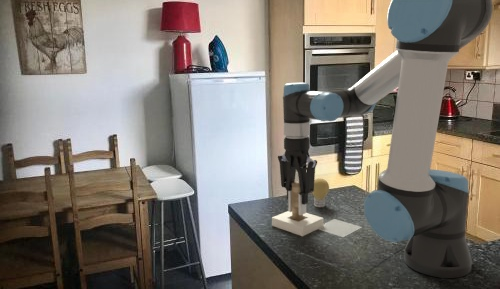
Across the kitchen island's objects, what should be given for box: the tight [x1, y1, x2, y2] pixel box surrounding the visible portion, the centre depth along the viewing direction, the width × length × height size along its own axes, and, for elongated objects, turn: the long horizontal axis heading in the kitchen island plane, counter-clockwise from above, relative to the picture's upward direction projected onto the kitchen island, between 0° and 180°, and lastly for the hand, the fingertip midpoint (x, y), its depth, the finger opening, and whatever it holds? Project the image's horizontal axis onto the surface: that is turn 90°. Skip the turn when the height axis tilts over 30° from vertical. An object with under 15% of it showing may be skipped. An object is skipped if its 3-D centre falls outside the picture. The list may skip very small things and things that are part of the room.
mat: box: [318, 218, 363, 238], centre depth 126 cm, size 10×10×1 cm
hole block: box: [271, 210, 325, 237], centre depth 128 cm, size 12×10×3 cm
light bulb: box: [311, 177, 330, 208], centre depth 145 cm, size 6×6×10 cm
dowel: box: [292, 180, 303, 222], centre depth 127 cm, size 3×3×14 cm
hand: (297, 212), depth 128 cm, fingers open, 3 cm apart
